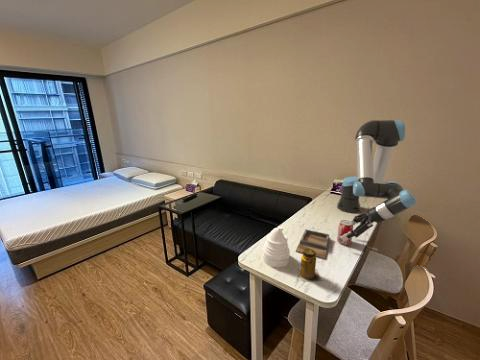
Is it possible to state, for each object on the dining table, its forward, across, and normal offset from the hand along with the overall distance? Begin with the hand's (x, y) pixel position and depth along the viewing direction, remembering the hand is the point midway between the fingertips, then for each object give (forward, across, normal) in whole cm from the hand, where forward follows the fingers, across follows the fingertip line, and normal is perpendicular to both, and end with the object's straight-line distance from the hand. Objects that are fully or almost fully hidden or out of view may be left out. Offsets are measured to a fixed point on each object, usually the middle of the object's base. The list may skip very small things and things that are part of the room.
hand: (343, 233), depth 119 cm
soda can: (+4, 0, -5) cm, 6 cm away
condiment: (+11, -34, +3) cm, 36 cm away
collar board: (+14, -10, +5) cm, 17 cm away
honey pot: (+23, -29, +15) cm, 40 cm away
